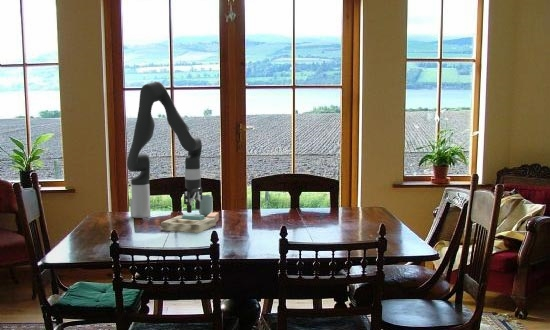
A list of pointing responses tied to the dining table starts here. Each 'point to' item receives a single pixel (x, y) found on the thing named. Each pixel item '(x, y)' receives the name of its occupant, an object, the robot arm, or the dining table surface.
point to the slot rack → (188, 224)
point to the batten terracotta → (214, 215)
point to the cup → (206, 205)
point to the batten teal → (193, 217)
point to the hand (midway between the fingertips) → (193, 210)
